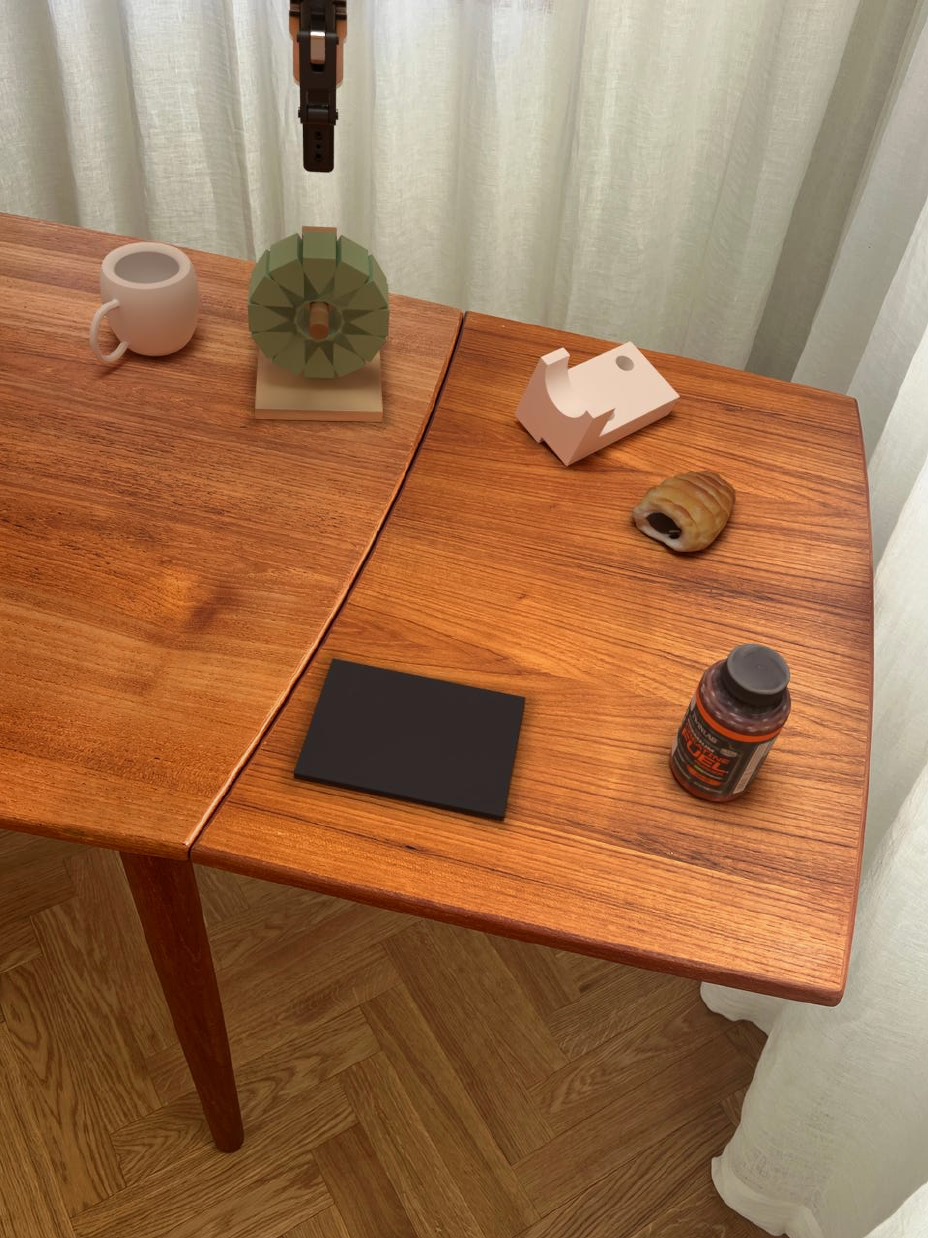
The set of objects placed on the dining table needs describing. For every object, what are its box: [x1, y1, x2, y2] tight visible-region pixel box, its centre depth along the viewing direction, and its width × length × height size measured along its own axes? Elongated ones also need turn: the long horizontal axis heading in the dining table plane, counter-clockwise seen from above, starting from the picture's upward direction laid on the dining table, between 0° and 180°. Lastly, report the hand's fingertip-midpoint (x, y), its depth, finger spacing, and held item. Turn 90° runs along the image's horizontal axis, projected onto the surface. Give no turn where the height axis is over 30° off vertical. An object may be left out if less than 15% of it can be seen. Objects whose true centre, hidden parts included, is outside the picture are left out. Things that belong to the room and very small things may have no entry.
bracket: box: [513, 340, 681, 467], centre depth 98 cm, size 13×7×8 cm, turn 130°
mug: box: [88, 241, 200, 365], centre depth 99 cm, size 12×8×8 cm
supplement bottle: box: [669, 643, 792, 803], centre depth 72 cm, size 6×6×11 cm
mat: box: [293, 657, 526, 822], centre depth 76 cm, size 14×10×1 cm
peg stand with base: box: [254, 225, 384, 423], centre depth 97 cm, size 13×11×12 cm
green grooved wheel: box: [247, 231, 391, 378], centre depth 94 cm, size 4×12×12 cm, turn 95°
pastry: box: [632, 470, 737, 553], centre depth 92 cm, size 9×7×4 cm
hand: (318, 141), depth 83 cm, fingers open, 8 cm apart
